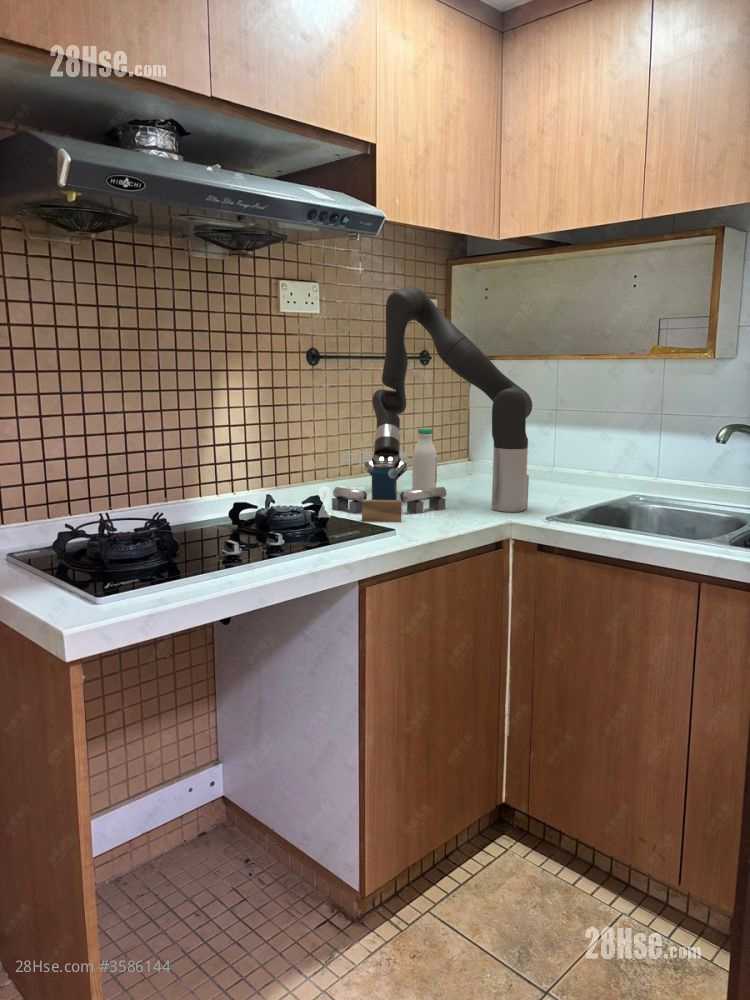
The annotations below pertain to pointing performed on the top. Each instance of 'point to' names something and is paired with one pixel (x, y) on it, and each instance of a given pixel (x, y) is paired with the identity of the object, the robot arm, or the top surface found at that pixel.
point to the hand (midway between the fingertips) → (384, 490)
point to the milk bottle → (424, 461)
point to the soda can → (384, 482)
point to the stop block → (381, 510)
